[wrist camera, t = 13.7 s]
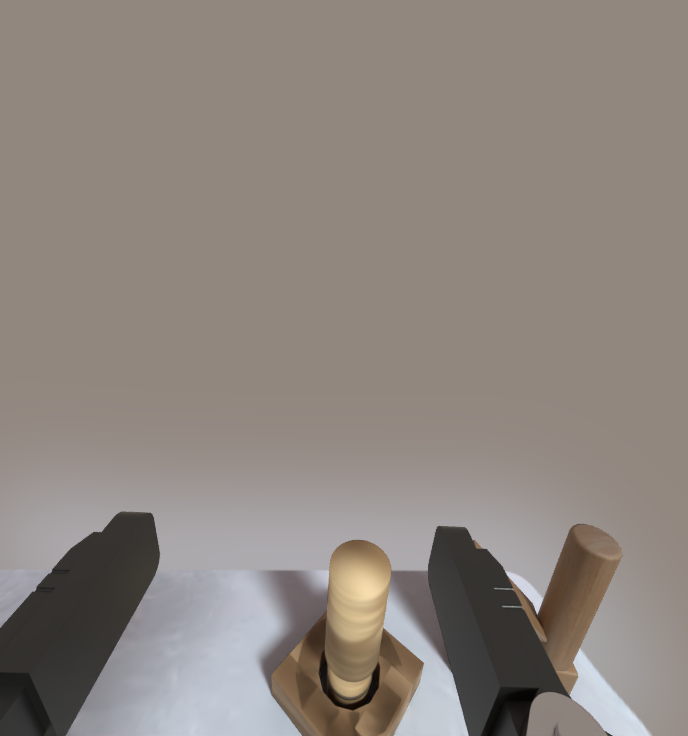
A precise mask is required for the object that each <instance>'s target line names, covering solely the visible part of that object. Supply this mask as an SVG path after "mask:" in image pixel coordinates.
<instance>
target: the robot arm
mask: <svg viewBox="0 0 688 736" xmlns="http://www.w3.org/2000/svg"><path fill="white" fill-rule="evenodd" d="M159 557H160V552H159V545H158V540H157V534H156V528H155V523H154V517H153V515H152V514H151V513H143V512H120V513H118V514H117V515H116V516H115V517H114V518H113V519H112V520H111V521H110V523H109V524H108V525H107V526H106V527H105V529H104V530H103V531H102V532H93V533H92V534H90V535H89V536H88V537H86V538H85V539H83V540H82V541H81V542H79V543H78V544H77V545H75V546H74V547H72V548H71V549H70V550H69V551H68V552H67V553H66V555H65V556H64V557H63V558H62V559H61V560H60V561H59V562H58V564H57V565H56V566H55V567H54V568H53V569H52V572H51V574H48V575H47V576H46V577H45V578H44V579H43V580H42V582H41V583H40V584H39V585H38V586H37V589H36V591H35V592H32V593H31V594H30V595H29V596H28V597H27V599H26V600H25V601H24V602H23V603H22V604H21V605H20V607H19V608H18V609H17V610H16V611H15V612H14V613H13V614H12V616H11V617H10V618H9V619H8V620H7V621H6V622H5V623H4V625H3V626H2V627H1V628H0V736H66V734H67V732H68V730H69V729H70V727H71V725H72V723H73V721H74V720H75V718H76V716H77V714H78V712H79V711H80V709H81V707H82V705H83V703H84V702H85V700H86V698H87V696H88V694H89V693H90V691H91V689H92V687H93V686H94V684H95V682H96V680H97V678H98V677H99V675H100V673H101V671H102V669H103V668H104V666H105V664H106V662H107V660H108V659H109V657H110V655H111V653H112V651H113V650H114V648H115V646H116V644H117V642H118V641H119V639H120V637H121V635H122V633H123V632H124V630H125V628H126V626H127V625H128V623H129V621H130V619H131V617H132V616H133V614H134V612H135V610H136V608H137V607H138V605H139V603H140V601H141V599H142V598H143V596H144V594H145V592H146V590H147V589H148V587H149V585H150V583H151V581H152V580H153V578H154V576H155V573H156V571H157V568H158V564H159ZM428 579H429V586H430V590H431V594H432V598H433V602H434V605H435V609H436V613H437V617H438V621H439V624H440V628H441V632H442V636H443V639H444V643H445V647H446V651H447V655H448V658H449V662H450V666H451V670H452V673H453V677H454V681H455V685H456V689H457V692H458V696H459V700H460V704H461V707H462V711H463V715H464V719H465V723H466V726H467V730H468V734H469V736H612V735H611V734H609V733H607V732H606V731H604V730H603V728H602V727H601V726H600V724H599V723H598V722H597V721H596V720H595V719H594V717H593V716H592V715H591V714H590V713H589V712H588V711H586V710H585V709H584V708H583V707H582V706H581V705H579V704H578V703H577V702H575V701H574V700H572V699H571V697H570V696H569V694H568V693H567V691H566V690H565V688H564V686H563V684H562V683H561V681H560V679H559V677H558V675H557V673H556V671H555V669H554V667H553V665H552V663H551V661H550V659H549V657H548V655H547V653H546V651H545V649H544V647H543V645H542V643H541V641H540V639H539V637H538V635H537V633H536V631H535V629H534V628H533V626H532V624H531V622H530V620H529V618H528V616H527V614H526V612H525V610H523V609H522V604H521V602H520V600H519V598H518V596H517V594H516V592H515V591H513V586H512V584H511V582H510V580H509V578H508V576H507V574H506V572H505V570H504V569H503V567H502V566H501V564H500V563H499V562H498V561H497V560H496V559H495V558H494V557H493V556H492V555H491V554H490V552H489V551H488V550H487V549H476V547H475V545H474V542H473V540H472V538H471V536H470V534H469V532H468V530H467V529H466V528H465V527H448V526H438V527H437V529H436V532H435V537H434V542H433V546H432V550H431V555H430V559H429V564H428Z"/></svg>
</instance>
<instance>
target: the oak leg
mask: <svg viewBox="0 0 688 736" xmlns="http://www.w3.org/2000/svg"><path fill="white" fill-rule="evenodd" d="M390 577H391V565H390V561H389V559H388V557H387V556H386V554H385V553H384V551H382V550H381V548H379V547H378V546H376V545H375V544H373V543H370V542H368V541H364V540H352V541H348V542H345V543H343V544H341V545H340V546H339V547H338V548H337V549H336V550H335V551H334V553H333V554H332V556H331V560H330V570H329V586H328V603H327V619H326V636H325V657H326V660H327V663H328V664H327V690H326V692H327V697H328V698H329V699H330V700H331V701H332V703H333V704H334V705H335V706H337V707H341V708H344V709H348V710H352V711H354V710H356V709H358V708H360V707H362V706H365V705H366V704H367V701H368V696H369V689H370V684H371V681H372V673H373V671H374V670H375V668H376V666H377V663H378V659H379V652H380V645H381V638H382V632H383V625H384V618H385V611H386V604H387V598H388V591H389V584H390Z"/></svg>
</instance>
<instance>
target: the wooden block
mask: <svg viewBox="0 0 688 736" xmlns="http://www.w3.org/2000/svg"><path fill="white" fill-rule="evenodd" d="M473 542H474V545H475V547H476V549H482V548H481V547H480V545H479V544H478V543H477V542H476V541H475V540H473ZM621 558H622V550H621V547H620V546H619V544H618V543H617V542H616V541H615V539H614V538H612V537H611V536H610V535H609V534H607V533H606V532H604V531H602V530H600V529H599V528H596V527H594V526H591V525H586V524H577V525H574V526H573V527H572V528H571V529H570V531H569V533H568V536H567V538H566V541H565V544H564V547H563V549H562V552H561V554H560V557H559V559H558V562H557V565H556V568H555V570H554V573H553V575H552V578H551V581H550V583H549V586H548V589H547V591H546V594H545V597H544V599H543V602H542V604H541V607H540V610H539V612H538V615H537V613H536V611H535V608H534V606H533V603H532V602H531V601H530V600H529V599H528V598H527V597H526V596H525V595H524V593H523V592H522V591H521V590H520V589H519V588H518V587H517V586H516V585H515V584H514V583H513V581H512V580H511V579H510V578H509V577H508V578H509V580H510V582H511V584H512V586H513V591H515V592H516V594H517V596H518V598H519V600H520V602H521V604H522V609H523V610H525V612H526V614H527V616H528V618H529V620H530V622H531V624H532V626H533V628H534V629H535V631H536V633H537V635H538V637H539V639H540V641H541V643H542V645H543V647H544V649H545V651H546V653H547V655H548V657H549V659H550V661H551V663H552V665H553V667H554V669H555V671H556V673H557V675H558V677H559V679H560V681H561V683H562V684H563V686H564V688H565V690H566V691H567V693H568V694H569V695H570V693H571V691H572V689H573V687H574V685H575V683H576V680H577V678H578V673H577V671H576V669H575V666H574V664H573V661H574V659H575V657H576V655H577V653H578V650H579V648H580V646H581V644H582V642H583V640H584V637H585V635H586V633H587V631H588V629H589V627H590V624H591V622H592V620H593V618H594V616H595V614H596V612H597V609H598V607H599V605H600V603H601V601H602V599H603V597H604V594H605V592H606V590H607V588H608V586H609V584H610V582H611V579H612V577H613V575H614V573H615V571H616V569H617V567H618V565H619V562H620V560H621Z"/></svg>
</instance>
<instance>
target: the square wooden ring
mask: <svg viewBox="0 0 688 736" xmlns="http://www.w3.org/2000/svg"><path fill="white" fill-rule="evenodd" d="M326 619H327V611H326V613H325V614H324V615H323V616H322V617H321V618H320V619H319V621H318V622H317V623H316V624H315V625H314V626H313V627H312V629H311V630H310V631H309V632H308V633H307V634H306V635H305V637H304V638H303V639H302V640H301V641H300V642H299V644H298V645H297V646H296V647H295V648H294V649H293V650H292V652H291V653H290V654H289V655H288V656H287V657H286V658H285V660H284V661H283V662H282V663H281V664H280V665H279V667H278V668H277V669H276V670H275V671H274V672H273V673H272V675H271V687H272V696H273V697H274V699H275V700H276V701H277V703H278V704H279V705H280V707H281V708H282V709H283V711H284V712H285V713H286V715H287V716H288V717H289V719H290V720H291V721H292V723H293V724H294V725H295V727H296V728H297V729H298V731H299V732H300V733H301V734H302V736H393V735H394V733H395V731H396V729H397V727H398V725H399V723H400V721H401V719H402V717H403V715H404V713H405V711H406V709H407V707H408V705H409V703H410V701H411V699H412V697H413V695H414V693H415V691H416V689H417V687H418V685H419V683H420V678H421V674H422V669H423V665H424V663H423V662H422V661H421V660H420V659H419V658H417V657H416V656H415V655H414V654H413V653H412V652H410V651H409V650H408V649H407V648H406V647H405V646H403V645H402V644H401V643H400V642H399V641H398V640H397V639H395V638H394V637H393V636H392V635H391V634H390V633H388V632H387V631H386V630H385V629H384V628H383V632H382V638H381V645H380V652H379V659H378V663H377V666H376V668H375V670H374V671H373V675H374V678H375V681H376V684H377V691H376V693H375V695H374V696H373V698H372V700H371V702H370V703H369V704H367V705H365V706H362V707H360V708H358V709H356V710H354V711H352V710H348V709H344V708H341V707H337V706H335V705H334V704H333V703H332V701H331V700H330V699H329V698H328V697H327V696H326V695H325V693H324V692H323V691H322V687H321V682H320V673H321V671H322V670H323V668H324V667H325V666H326V664H327V660H326V657H325V636H326Z"/></svg>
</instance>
